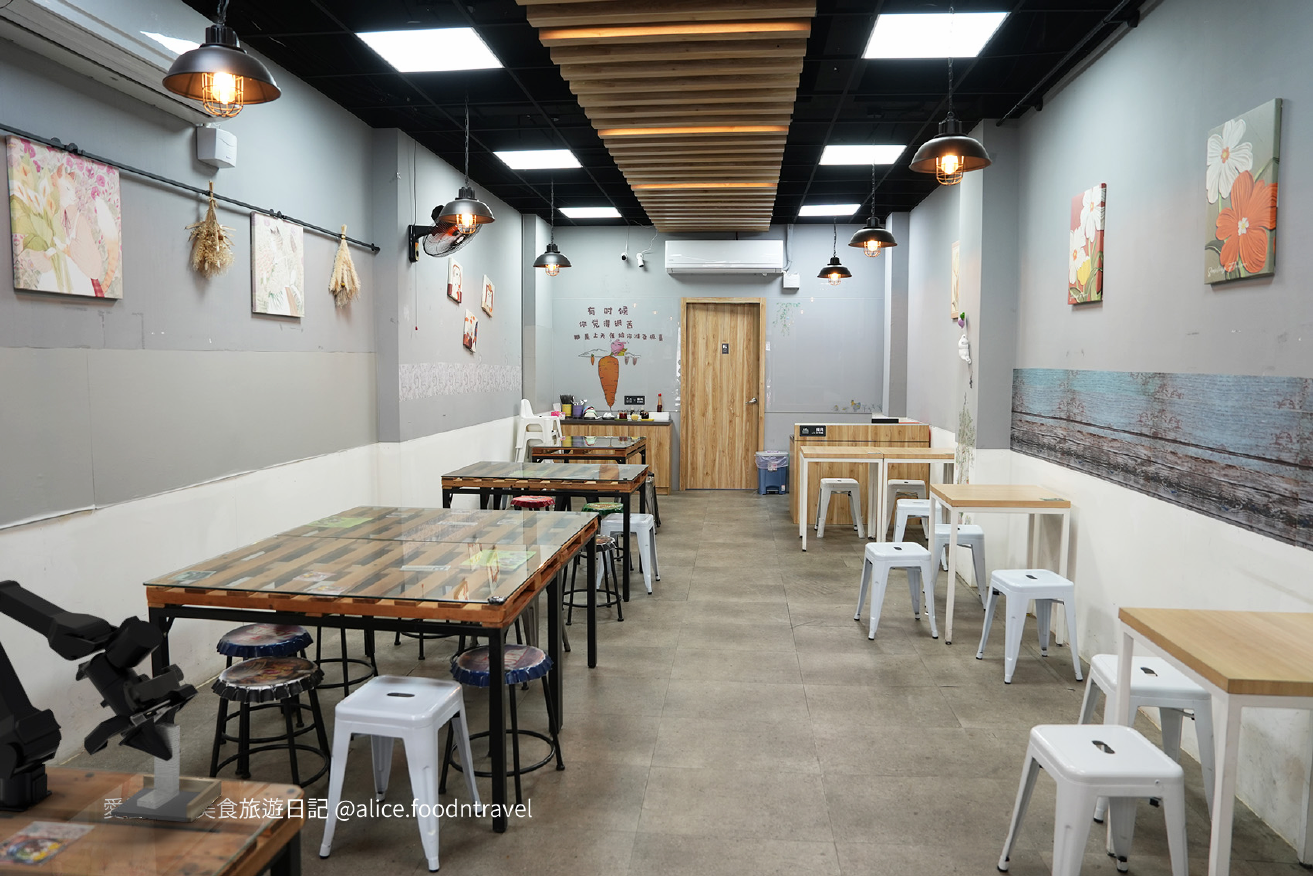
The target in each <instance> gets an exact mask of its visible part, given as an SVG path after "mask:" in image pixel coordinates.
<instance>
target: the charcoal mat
mask: <svg viewBox="0 0 1313 876" xmlns="http://www.w3.org/2000/svg"><path fill="white" fill-rule="evenodd" d="M153 790H154V789H150V788H143V787H142V788H141V789H140V790H138V791H137V792H135V793H134V794H133V795H132V796H130V797H129V798H127V799H126V800H124V801H123V802H122V803H120V805H118V806H117V807H115V808H114V809H113V810H111V813H110V816H111V815H114V816H113V817H118V816H127V817H126V818H130V817H142V818H141V819H143V818H148V819H147V820H156V819H157V820H158V821H169V822H171V821H172V822H183V823H188V822H187V804H189V803H190V802H191V801H192V800H193V799H195V798H196V797H197V796H198V795H199V794H201V792H189V791H179V795H177V796H176V797H174V798H172V799H171V800H169V801H168V802H166V803H164V804H163V805H161V806H160V807H158V808H156V809H152V808H146V807H141V806H137V800H138V799H139V798H141V797H143V796H144V795H146V794H148V793H150V792H151V791H153ZM219 795H220V794H219ZM207 806H209V805H207ZM209 807H210V806H209ZM201 810H202V809H201ZM201 812H202V811H201ZM202 813H203V812H202ZM115 815H116V816H115ZM198 817H199V816H197V818H198ZM192 819H193V818H192ZM189 823H192V822H191V821H190V822H189Z"/></svg>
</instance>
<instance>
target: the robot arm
mask: <svg viewBox="0 0 1313 876" xmlns="http://www.w3.org/2000/svg"><path fill="white" fill-rule="evenodd" d="M1 613H2V614H3V615H5V616H7V617H9V618H11V619H12V620H14V621H16V622H18V623H20V624H22V625H23V626H25V627H27V628H29V629H31V630H32V631H35V632H37V633H39V634H40V635H43V636H44V637H45V638H46V639H47V643H48V647H49V648H50V649H51V650H53V652H54V653H56V654H57V655H58V656H60V657H62V658H63V659H64V660H66V661H68V662H69V661H70V662H74V661H77V660H80V659H82V658H85V657H88V656H91V655H93V654H94V655H93V656H92V657H91V658H90V659H89V660H86V661H84V662H81V663H79V664H78V665H77V668H78V669H77V672H76V674H75V681H77V682H80V681H82V680H85V679H87V678H88V679H89V681H90V682H91V684H92V685H93V686H94V688H95V689H96V690H97V692H99V694H100V695H101V697H102V698H103V700H102V701H100V703H99V704H100V706H101V708H102V709H105V708H107V707H110V709H111V710H112V712H113V713H114V714H115V715H114V716H112V717H110V718H108V719H105V720H103V721H100V722H99V724H98V725H97V726H95V728H93V730H91V732H89V734H87V735H86V736H85V737H84V740H83V742H84V743H83V747H84V750H86V752H87V753H88V754H89V755H90V756H94V755H95V754H97V753H100V752H101V751H104V750H105V749H106V748H108V744H109V739H111V738H113V737H114V738H115V737H116V736H118V735H120V738H121V739H122V740H121V741H119V743H118V744H117V745H118V746H119V747H123V746H125V747H126V746H127V747H129V748H132V749H134V750H139V751H141V752H144V753H146V754H149V755H151V756H155V757H158V758H160V759H162V760H165V761H169V760H170V759H171V758H172V755H171V753H170V751H169V750H168V748H167V747H166V745H165V744H164V742H163V741H162V739H161V738H160V737H159V735H158V734H157V732H156V731H155V725H157V724H159V723H161V722H165V723H172V724H175V717H176V714H178V713H179V712H180V711H182V710H183V709H184V708H185V707H186V706H187V705H188V704H189V703H190V702H191V701H192V700H194V699H195V697H197V696H198V695H199V691H198V690H197V688H196V687H195V686H194V684H192V683H183V684H182V685H181V684H180V682H182V681H184V678H185V675H184V673H183V670H182V669H181V668H180V667H179V666H178V665H177V664H176V663H173V664H170V665H167V666H165V667H163V668H161V669H160V675H157V676H155V677H153V678H150V676H149V675H148V674H146V673H142V674H140V675H139V674H138V673H137V672H136V671H135V669H134V668H136V667H138V666H139V665H140V664H141V663H143V662H144V661H145V660H146V659H147V658H148V657H149V656H150V655H151V654H152V653H153V652H154V651H156V649H157V648H159V646H160V645H161V644H162V642H163V639H164V637H163V633H162V630H161V629H160V628H159V626H157V625H155V624H153V623H152V622H149V621H147V620H141V619H140V618H139V617H138V615H133V616H130V617H129V616H128V617H127V618H125V619H123V621H122V622H121V624H120V625H119V626H117V625H113V624H111V623H110V622H109V621H107V620H106V619H104V618H102V617H99V616H97V615H93V614H89V613H79V612H78V613H77V612H72V611H68V610H66V609H65V608H62V607H60V606H58V605H57V604H55V603H53V602H51V601H49V600H47V599H45V598H44V597H41V596H40V595H38V594H36V593H34V592H32V591H31V590H28V589H27V588H24V587H23V586H21V584H20V582H18V581H17V580H12V579H6V580H2V581H0V614H1ZM102 651H103V652H102ZM96 653H97V654H96ZM60 729H62V726H61V725H60V724H59V723H58V721H57V720H56V717H55V714H54V712H53V711H52V710H51V708H47V709H44V710H41V709H40V708H37V707H36V706H34V705H33V704H32V702H31V700H30V697H29V696H28V694H27V692H26V690H25V688H24V686H23V684H22V682H21V680H20V678H19V676H18V674H17V672H16V669H15V668H14V666H13V664H12V662H11V659H10V658H9V656H8V654H7V652H6V649H5V647H4V646H3V643H2V642H1V640H0V811H13V812H25V811H28V810H29V809H31V808H32V807H33V806H35V805H37V804H38V803H40V802H42V801H43V800H44V799H47V798H48V797H50V796H51V795H52V794H53V790H51V789H50V790H48V773H46V762H48V761H50V760H51V761H52V760H54V759H55V757H56V754H57V751H58V748H59V747H60V742H61V741H62V739H63V738H62V737H63V736H62V733H61V730H60ZM180 753H181V750H180Z"/></svg>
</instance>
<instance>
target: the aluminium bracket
mask: <svg viewBox="0 0 1313 876" xmlns="http://www.w3.org/2000/svg"><path fill="white" fill-rule="evenodd" d="M180 728H181V726H180V724H177V723H174V724H172V723H165V722H161V723H159V724H157V725H155V731H156V732H157V734H158V735H159V737H160V738H161V739H162V741H163V742H164V744H165V745H166V747H167V748H168V750H169V751H170V753H171V755H172V758H171V759H170V760H169V761H165V760H162V759H160V758H158V757H155V756H154V759H153V762H154V766H153V767H154V769H153V770H154V771H153V773H154V774H153V775H154V790H153V791H151V792H150V793H148V794H146V795H144V796H143V797H141V798H139V799H138V800H137V806H141V807H146V808H152V809H156V808H158V807H160V806H161V805H163V804H164V803H166V802H168V801H169V800H171V799H172V798H174V797H176V796H177V795H179V777H180V758H181V757H180V756H181V755H180V754H181V752H180V751H181V748H180V747H181V746H180V743H181V742H180V738H181V737H180V736H181V731H180V730H181V729H180Z"/></svg>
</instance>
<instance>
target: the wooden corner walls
mask: <svg viewBox="0 0 1313 876" xmlns="http://www.w3.org/2000/svg"><path fill="white" fill-rule="evenodd" d="M199 778H200V777H188V776H179V791H189V792H201V794H199V795H198V796H197V797H196V798H195V799H193V800H192V801H191V802H190V803H189V804H187V822H186V823H192V822H193V821H195V819H197V818H198V817H199V816H200V815H202V813H203V812H205V809H206V808H207V807H208V806H207V805H210V804H211V803H212V802H213V800H215V799H216V798H217V797H219V796H220V795H221V796H222V781H223V780H222V779H215V778H203V779H199ZM142 780H143V783H142V788H150V789H154V774H149V773H148V774H147V773H146V774H145V775H143V778H142ZM219 794H220V795H219ZM219 798H220V797H219ZM211 805H212V804H211ZM211 805H210V806H211ZM208 808H209V807H208ZM208 808H207V809H208ZM201 809H202V810H201ZM207 809H206V810H207ZM201 811H202V812H201ZM197 816H198V817H197ZM196 817H197V818H196ZM192 818H193V819H192ZM190 821H191V822H190Z"/></svg>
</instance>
